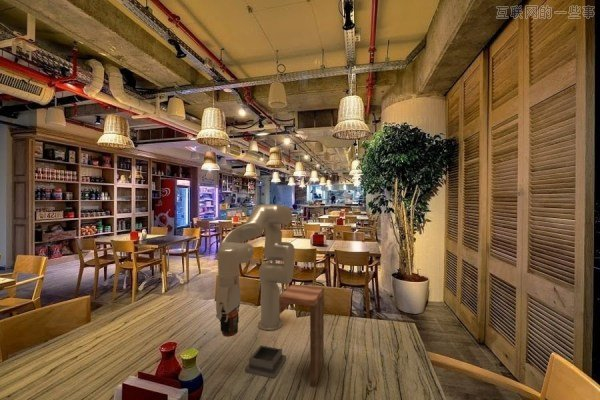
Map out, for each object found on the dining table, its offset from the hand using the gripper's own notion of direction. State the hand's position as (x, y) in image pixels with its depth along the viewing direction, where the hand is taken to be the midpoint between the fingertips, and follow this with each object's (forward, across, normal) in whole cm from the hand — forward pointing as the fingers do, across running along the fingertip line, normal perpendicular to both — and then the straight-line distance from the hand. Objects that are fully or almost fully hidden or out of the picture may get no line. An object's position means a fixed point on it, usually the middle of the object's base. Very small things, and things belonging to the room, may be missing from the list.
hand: (229, 326), depth 103 cm
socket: (+17, -6, +12) cm, 21 cm away
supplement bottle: (+3, 0, 0) cm, 3 cm away
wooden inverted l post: (+17, -7, +26) cm, 32 cm away
